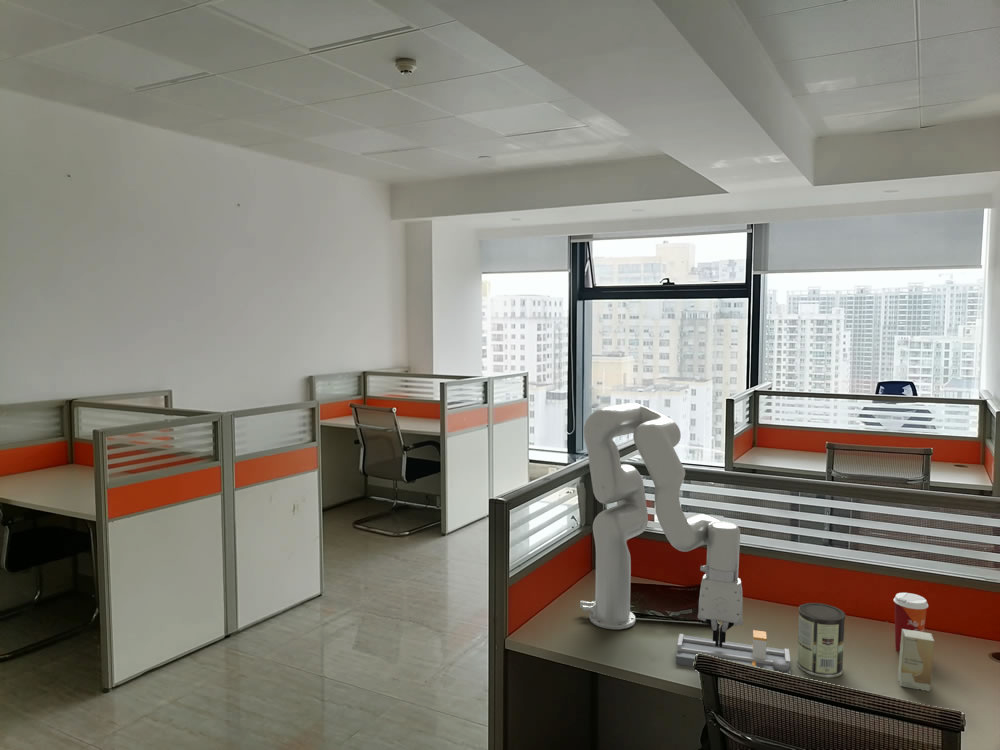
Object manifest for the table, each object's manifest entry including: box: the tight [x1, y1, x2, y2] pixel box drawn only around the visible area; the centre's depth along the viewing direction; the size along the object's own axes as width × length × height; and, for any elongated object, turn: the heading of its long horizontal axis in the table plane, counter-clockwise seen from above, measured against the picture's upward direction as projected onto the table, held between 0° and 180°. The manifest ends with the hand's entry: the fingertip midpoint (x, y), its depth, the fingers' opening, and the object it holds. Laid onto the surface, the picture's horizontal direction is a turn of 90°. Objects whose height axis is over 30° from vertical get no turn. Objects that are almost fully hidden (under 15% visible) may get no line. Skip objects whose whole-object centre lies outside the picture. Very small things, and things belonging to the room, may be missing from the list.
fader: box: [752, 629, 767, 660], centre depth 178 cm, size 3×4×6 cm
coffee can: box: [796, 602, 846, 679], centre depth 177 cm, size 10×10×14 cm
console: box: [675, 633, 791, 675], centre depth 180 cm, size 26×12×4 cm, turn 71°
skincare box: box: [897, 629, 935, 692], centre depth 169 cm, size 6×4×12 cm
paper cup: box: [893, 592, 929, 654], centre depth 185 cm, size 8×8×14 cm
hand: (718, 644), depth 181 cm, fingers closed
